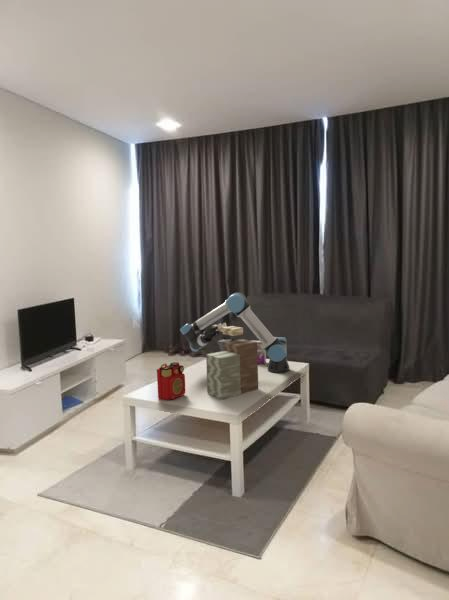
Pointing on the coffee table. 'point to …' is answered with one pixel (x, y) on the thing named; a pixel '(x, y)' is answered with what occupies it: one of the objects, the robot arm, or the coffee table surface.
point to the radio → (170, 381)
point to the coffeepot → (223, 343)
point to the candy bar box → (261, 353)
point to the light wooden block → (230, 330)
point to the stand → (233, 369)
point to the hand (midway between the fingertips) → (223, 324)
